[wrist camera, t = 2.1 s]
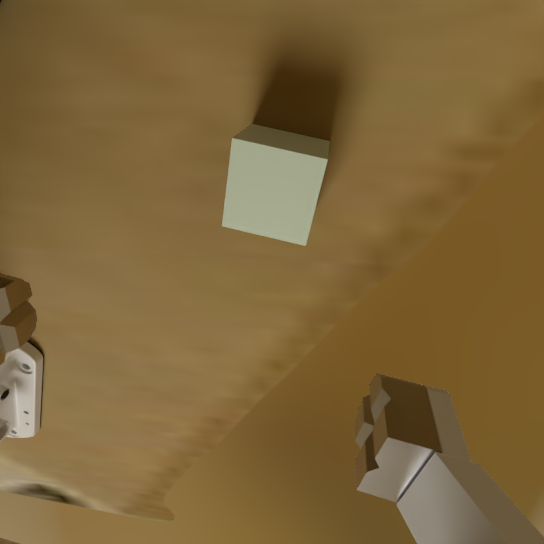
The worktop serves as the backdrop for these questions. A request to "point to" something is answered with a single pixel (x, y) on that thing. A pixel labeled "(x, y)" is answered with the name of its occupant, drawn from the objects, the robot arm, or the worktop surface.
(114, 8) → the worktop surface
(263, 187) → the sage block
